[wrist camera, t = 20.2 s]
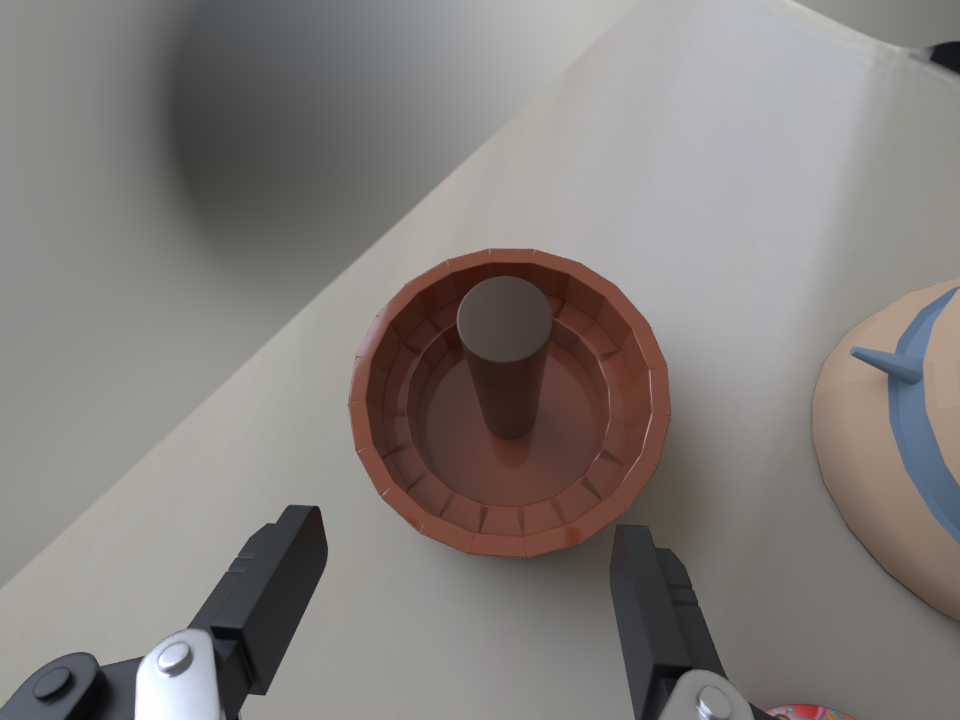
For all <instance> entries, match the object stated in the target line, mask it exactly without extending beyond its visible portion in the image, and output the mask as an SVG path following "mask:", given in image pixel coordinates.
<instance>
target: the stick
mask: <svg viewBox="0 0 960 720" xmlns="http://www.w3.org/2000/svg"><path fill="white" fill-rule="evenodd" d="M552 322H553V317H552V310H551V307H550V304H549V302H548V300H547V298H546V297H545V295H544V294H543V293H542V292H541V291H540V290H539V289H538V288H537V287H536V286H534V285H533V284H531V283H530V282H528V281H526V280H523V279H520V278H516V277H509V276H502V277H494V278H491V279H487V280H485V281H483V282H481V283H479V284H477V285H476V286H475V287H473V288H472V289H471V290H470V291H469V292H468V293H467V294H466V296H465V297H464V298H463V300H462V302H461V304H460V306H459V309H458V313H457V329H458V333H459V336H460V340H461V343H462V346H463V350H464V353H465V356H466V360H467V363H468V367H469V370H470V373H471V377H472V380H473V383H474V387H475V390H476V394H477V397H478V400H479V404H480V407H481V410H482V414H483V417H484V421H485V423H486V426H487V427H488V429H489V430H490V431H491V432H492V433H493V434H494V435H496V436H498V437H500V438H503V439H509V440H510V439H517V438H520V437H522V436H524V435H526V434H527V433H528V432H529V431H530V430H531V429H532V427H533V425H534V423H535V420H536V415H537V410H538V404H539V398H540V392H541V387H542V381H543V375H544V370H545V364H546V358H547V352H548V347H549V341H550V335H551V330H552Z"/></svg>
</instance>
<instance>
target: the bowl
mask: <svg viewBox="0 0 960 720" xmlns="http://www.w3.org/2000/svg"><path fill="white" fill-rule="evenodd" d="M502 276H509V277H516V278H520V279H523V280H526V281H528V282H530V283H531V284H533V285H534V286H536V287H537V288H538V289H539V290H540V291H541V292H542V293H543V294H544V295H545V297H546V298H547V300H548V302H549V304H550V307H551V310H552V317H553V322H552V330H551V335H550V341H549V347H548V352H547V358H546V364H545V370H544V375H543V381H542V387H541V392H540V398H539V404H538V410H537V415H536V420H535V423H534V425H533V427H532V429H531V430H530V431H529V432H528V433H527V434H526V435H524V436H522V437H520V438H517V439H510V440H509V439H503V438H500V437H498V436H496V435H494V434H493V433H492V432H491V431H490V430H489V429H488V427H487V426H486V423H485V421H484V417H483V414H482V410H481V407H480V404H479V400H478V397H477V394H476V390H475V387H474V383H473V380H472V377H471V373H470V370H469V367H468V363H467V360H466V356H465V353H464V350H463V346H462V343H461V340H460V336H459V333H458V329H457V313H458V309H459V306H460V304H461V302H462V300H463V298H464V297H465V296H466V294H467V293H468V292H469V291H470V290H471V289H472V288H473V287H475V286H476V285H477V284H479V283H481V282H483V281H485V280H487V279H491V278H494V277H502ZM348 407H349V413H350V419H351V425H352V432H353V438H354V444H355V450H356V451H357V455H358V456H359V458H360V460H361V462H362V464H363V466H364V468H365V469H366V471H367V473H368V475H369V477H370V479H371V481H372V483H373V484H374V486H375V488H376V490H377V492H378V494H379V495H380V496H381V497H382V499H383V500H384V501H385V502H386V503H387V504H389V505H390V506H391V507H392V508H393V509H394V510H395V511H396V512H397V513H398V514H399V515H400V516H402V517H403V518H404V519H405V520H406V521H407V522H408V523H409V524H410V525H411V526H412V527H413V528H415V529H416V530H417V531H418V532H420V534H423V535H425V536H427V537H430V538H432V539H434V540H437V541H439V542H441V543H444V544H446V545H448V546H451V547H453V548H455V549H458V550H460V551H462V552H464V553H467V554H471V555H479V556H493V557H508V558H522V559H525V558H526V557H527V558H532V557H535V556H539V555H542V554H546V553H550V552H553V551H557V550H560V549H564V548H567V547H571V546H575V545H578V544H580V543H583V542H585V541H586V540H587V539H589V538H590V537H592V536H593V535H594V534H596V533H597V532H599V531H600V530H601V529H603V528H604V527H606V526H607V525H608V524H610V523H611V522H613V521H614V520H616V519H617V518H618V517H620V516H621V515H623V514H624V513H625V512H626V511H627V510H628V509H629V508H630V506H631V505H632V504H633V502H634V501H635V499H636V498H637V496H638V495H639V494H640V492H641V491H642V489H643V488H644V486H645V485H646V483H647V482H648V481H649V479H650V478H651V476H652V475H653V473H654V472H655V470H656V469H657V466H658V464H659V460H660V457H661V453H662V449H663V445H664V442H665V438H666V434H667V430H668V427H669V423H670V416H671V408H670V395H669V382H668V370H667V364H666V362H665V360H664V357H663V355H662V353H661V350H660V348H659V346H658V343H657V341H656V339H655V336H654V334H653V332H652V329H651V327H650V325H649V323H648V322H647V320H646V319H645V318H644V317H643V316H642V315H641V313H640V312H639V311H638V310H637V309H636V308H635V306H634V305H633V304H632V303H631V302H630V301H629V300H628V298H627V297H626V296H625V295H624V294H623V293H622V291H621V290H620V289H619V288H618V287H617V286H616V285H615V284H613V283H611V282H610V281H608V280H607V279H605V278H603V277H602V276H600V275H599V274H597V273H595V272H594V271H592V270H591V269H589V268H588V267H586V266H584V265H583V264H581V263H580V262H578V263H577V262H576V261H573V260H570V259H566V258H563V257H559V256H556V255H553V254H549V253H546V252H542V251H539V250H534V249H491V248H490V249H486V250H482V251H478V252H474V253H470V254H467V255H463V256H459V257H455V258H452V259H448V260H446V261H443V262H442V263H440V264H438V265H437V266H435V267H433V268H432V269H430V270H428V271H427V272H425V273H423V274H421V275H420V276H418V277H416V278H415V279H413V280H411V281H410V282H408V283H406V284H405V285H404V286H403V287H402V289H401V290H400V291H399V292H398V293H397V294H396V295H395V296H394V297H393V298H392V299H391V300H390V301H389V302H388V303H387V304H386V305H385V307H384V308H383V309H382V310H381V311H380V312H379V313H378V314H377V315H376V317H375V319H374V321H373V323H372V325H371V327H370V329H369V331H368V333H367V335H366V337H365V339H364V341H363V343H362V345H361V347H360V349H359V351H358V353H357V355H356V358H355V364H354V370H353V376H352V383H351V389H350V395H349V404H348Z"/></svg>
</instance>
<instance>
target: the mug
mask: <svg viewBox="0 0 960 720" xmlns="http://www.w3.org/2000/svg"><path fill="white" fill-rule="evenodd" d="M765 713H767V714H770V715H772V716H774V717H777V718H779V719H782V720H856V719H854V718H852V717H850V716H848V715H846V714H844V713H841V712H838V711H836V710H833V709H829V708H825V707H821V706H815V705H806V704H792V705H785V706H779V707H776V708H773V709H770V710H768V711H765Z"/></svg>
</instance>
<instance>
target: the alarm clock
mask: <svg viewBox="0 0 960 720" xmlns="http://www.w3.org/2000/svg"><path fill="white" fill-rule="evenodd" d="M812 439H813V443H814V447H815V450H816V454H817V458H818V462H819V465H820V469H821V473H822V477H823V480H824V483H825V485H826V487H827V488H828V490H829V492H830V494H831V496H832V498H833V500H834V501H835V503H836V505H837V507H838V509H839V511H840V512H841V514H842V516H843V518H844V520H845V522H846V523H847V525H848V527H849V528H850V529H851V531H852V532H853V533H854V534H855V535H856V536H857V538H858V539H859V540H860V541H861V542H862V543H863V545H864V546H865V547H866V548H867V549H868V550H869V552H870V553H871V554H872V555H873V556H874V557H875V559H876V560H877V561H878V562H879V563H880V564H881V566H882V567H883V568H884V569H885V570H886V571H887V572H888V573H890V574H891V575H892V576H893V577H895V578H896V579H897V580H898V581H900V582H901V583H902V584H904V585H905V586H906V587H907V588H909V589H910V590H911V591H912V592H914V593H915V594H916V595H918V596H919V597H920V598H921V599H923V600H924V601H925V602H927V603H928V604H929V605H930V606H932V607H933V608H934V609H936V610H938V611H940V612H942V613H944V614H946V615H948V616H950V617H952V618H954V619H956V620H958V621H960V278H956V279H952V280H949V281H945V282H942V283H939V284H936V285H932V286H929V287H926V288H923V289H919V290H916V291H913V292H910V293H907V294H906V295H904V296H902V297H901V298H899V299H897V300H896V301H894V302H892V303H891V304H889V305H887V306H886V307H884V308H882V309H881V310H879V311H877V312H876V313H874V314H873V315H871V316H870V317H868V318H867V319H865V320H864V321H862V322H861V323H859V324H858V325H856V326H855V327H853V328H852V329H850V330H849V331H847V332H846V334H845V335H844V336H843V337H842V339H841V340H840V341H839V343H838V344H837V345H836V347H835V348H834V349H833V350H832V352H831V353H830V354H829V356H828V357H827V358H826V359H825V361H824V364H823V367H822V370H821V373H820V376H819V379H818V382H817V385H816V388H815V391H814V394H813V406H812Z"/></svg>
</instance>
